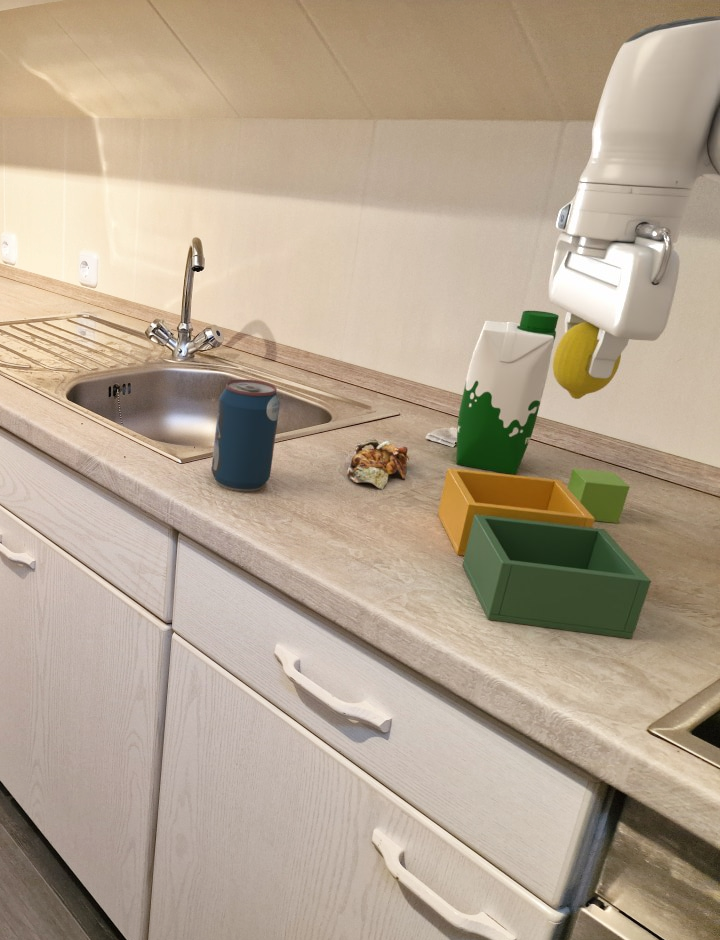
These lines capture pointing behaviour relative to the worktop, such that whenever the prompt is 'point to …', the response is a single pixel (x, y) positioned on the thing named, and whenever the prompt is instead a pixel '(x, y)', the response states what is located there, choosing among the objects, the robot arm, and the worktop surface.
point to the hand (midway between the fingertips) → (584, 367)
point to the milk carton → (504, 391)
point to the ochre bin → (504, 502)
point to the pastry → (377, 462)
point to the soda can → (245, 435)
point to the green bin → (554, 576)
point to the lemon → (578, 361)
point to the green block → (599, 493)
